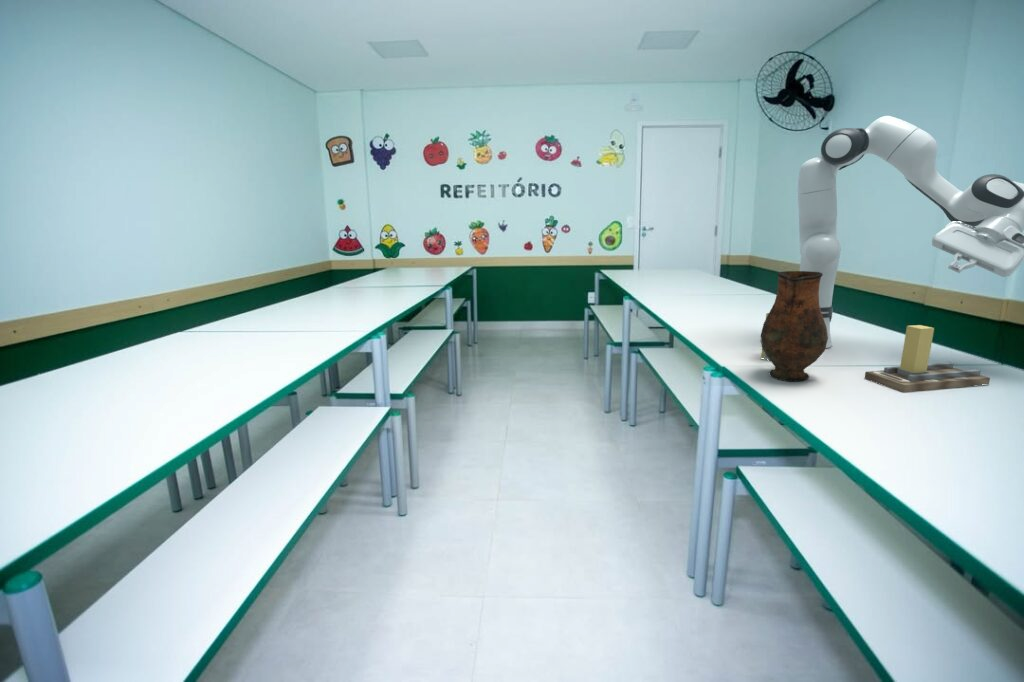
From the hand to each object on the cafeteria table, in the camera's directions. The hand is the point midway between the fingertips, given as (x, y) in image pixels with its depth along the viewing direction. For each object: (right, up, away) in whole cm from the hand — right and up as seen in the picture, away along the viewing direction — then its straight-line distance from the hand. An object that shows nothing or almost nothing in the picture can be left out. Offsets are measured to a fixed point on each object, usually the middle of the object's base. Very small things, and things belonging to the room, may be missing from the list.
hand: (953, 269), depth 139 cm
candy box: (-39, -26, +24) cm, 52 cm away
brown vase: (-42, -30, +6) cm, 52 cm away
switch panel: (-11, -31, -3) cm, 33 cm away
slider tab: (-15, -29, -4) cm, 33 cm away
